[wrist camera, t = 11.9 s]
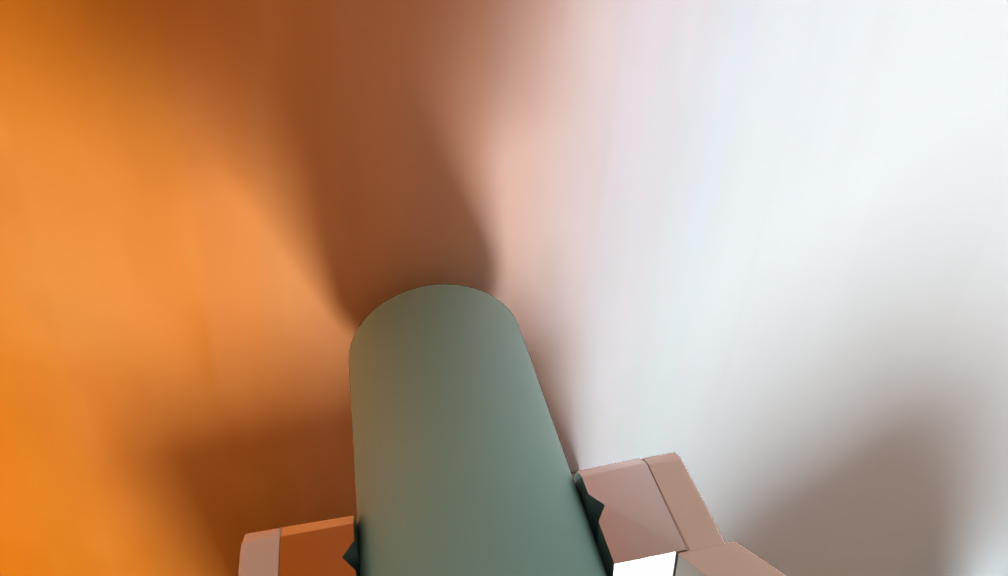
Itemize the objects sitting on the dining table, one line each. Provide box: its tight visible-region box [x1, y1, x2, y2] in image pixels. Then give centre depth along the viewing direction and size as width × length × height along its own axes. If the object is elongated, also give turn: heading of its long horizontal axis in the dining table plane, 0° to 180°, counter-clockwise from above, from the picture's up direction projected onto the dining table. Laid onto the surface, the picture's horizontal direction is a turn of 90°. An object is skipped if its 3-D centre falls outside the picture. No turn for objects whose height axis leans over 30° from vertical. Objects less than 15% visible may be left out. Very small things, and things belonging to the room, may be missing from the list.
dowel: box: [349, 284, 607, 576], centre depth 10 cm, size 3×3×9 cm
